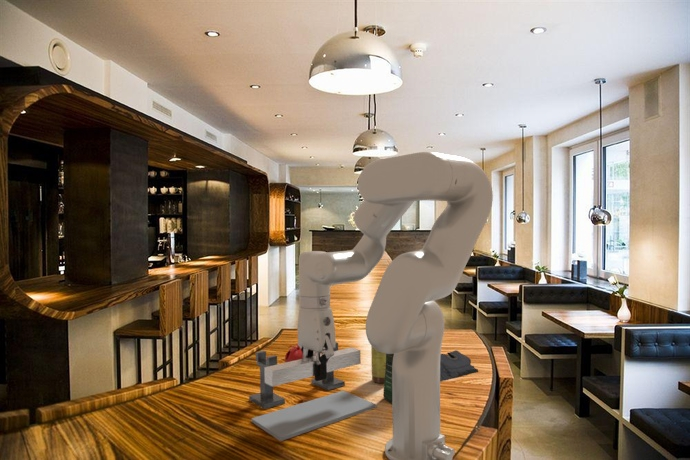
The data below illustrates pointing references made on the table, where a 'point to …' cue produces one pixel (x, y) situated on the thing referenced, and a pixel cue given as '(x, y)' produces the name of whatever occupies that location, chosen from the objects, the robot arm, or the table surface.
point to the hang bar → (309, 367)
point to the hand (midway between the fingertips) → (315, 376)
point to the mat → (312, 414)
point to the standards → (266, 391)
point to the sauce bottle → (378, 366)
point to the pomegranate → (294, 354)
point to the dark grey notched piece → (455, 366)
